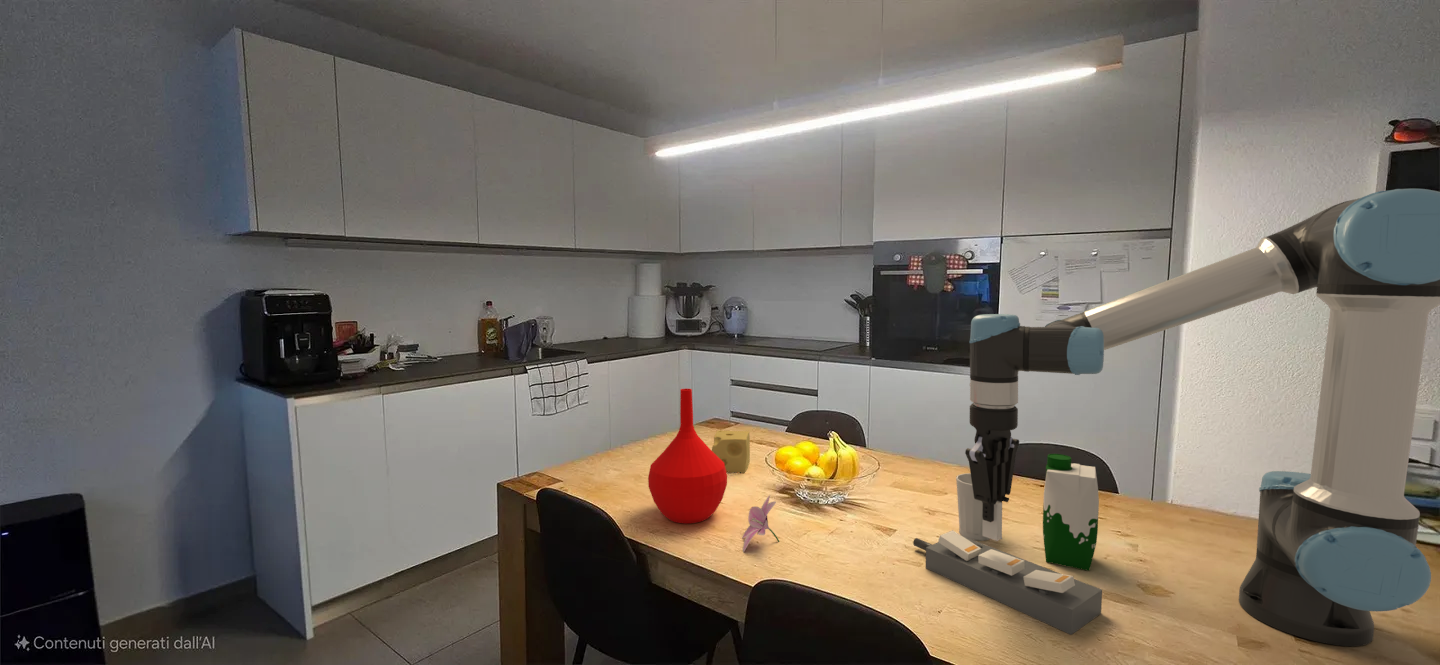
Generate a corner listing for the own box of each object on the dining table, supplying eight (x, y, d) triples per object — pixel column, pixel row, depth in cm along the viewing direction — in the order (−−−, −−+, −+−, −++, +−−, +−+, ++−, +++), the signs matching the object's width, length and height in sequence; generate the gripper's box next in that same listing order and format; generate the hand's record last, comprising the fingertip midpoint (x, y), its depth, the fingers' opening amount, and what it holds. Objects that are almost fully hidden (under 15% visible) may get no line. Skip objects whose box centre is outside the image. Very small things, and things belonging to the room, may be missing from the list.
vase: (681, 539, 125) (678, 401, 122) (633, 514, 138) (630, 389, 136) (744, 516, 137) (742, 389, 134) (694, 495, 150) (692, 380, 148)
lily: (755, 530, 131) (734, 497, 129) (802, 518, 126) (781, 483, 124) (742, 571, 121) (719, 535, 118) (792, 559, 116) (770, 521, 113)
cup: (1000, 543, 121) (1001, 486, 120) (958, 540, 122) (960, 484, 121) (990, 527, 128) (991, 474, 127) (951, 525, 130) (953, 472, 129)
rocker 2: (1024, 568, 100) (1024, 560, 100) (1011, 575, 98) (1011, 567, 98) (991, 556, 105) (991, 548, 105) (978, 562, 103) (978, 554, 103)
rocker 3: (1075, 585, 94) (1073, 575, 94) (1062, 592, 91) (1060, 583, 91) (1037, 578, 99) (1035, 569, 99) (1024, 585, 96) (1023, 576, 96)
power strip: (1101, 613, 95) (1102, 586, 95) (1071, 634, 90) (1072, 606, 89) (931, 542, 122) (931, 521, 121) (899, 555, 116) (899, 533, 116)
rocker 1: (979, 554, 107) (981, 547, 107) (966, 561, 105) (968, 554, 104) (951, 536, 112) (952, 529, 111) (938, 542, 110) (939, 535, 109)
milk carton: (1043, 545, 120) (1046, 449, 118) (1095, 555, 115) (1100, 455, 113) (1040, 563, 112) (1043, 460, 111) (1096, 575, 108) (1101, 468, 106)
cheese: (711, 472, 168) (710, 438, 167) (717, 461, 179) (716, 428, 178) (747, 474, 167) (746, 439, 166) (751, 462, 177) (751, 429, 176)
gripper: (993, 396, 108) (992, 521, 110) (951, 406, 100) (950, 539, 102) (1035, 402, 102) (1033, 534, 103) (992, 413, 94) (991, 555, 96)
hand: (992, 537), depth 103 cm, fingers closed
